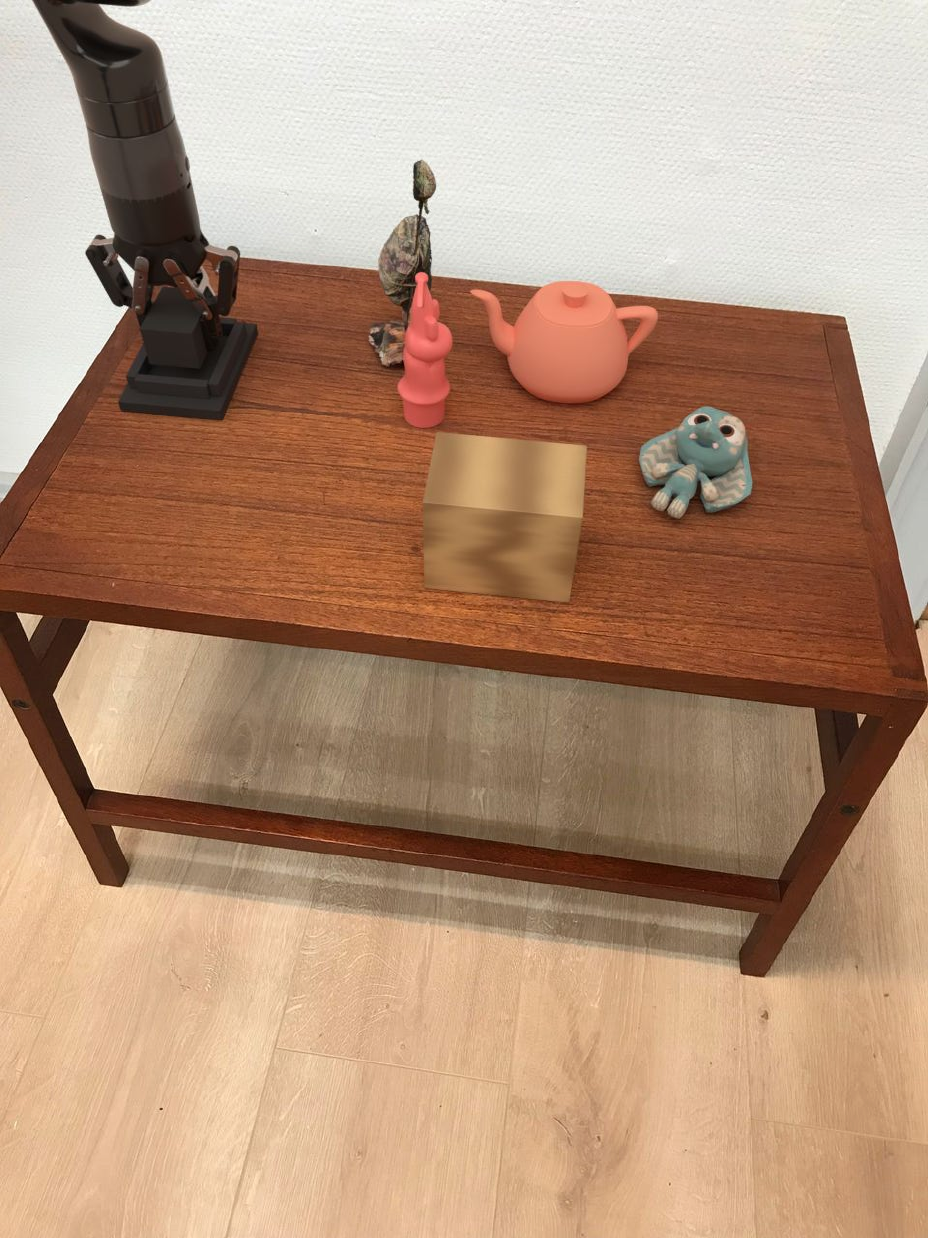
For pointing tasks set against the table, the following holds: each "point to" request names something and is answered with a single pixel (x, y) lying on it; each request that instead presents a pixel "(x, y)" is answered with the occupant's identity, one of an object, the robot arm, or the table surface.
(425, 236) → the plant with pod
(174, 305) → the small black block
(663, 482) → the stuffed animal
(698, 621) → the table surface
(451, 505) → the oak block
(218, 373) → the base pad
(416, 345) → the figurine
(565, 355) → the teapot
